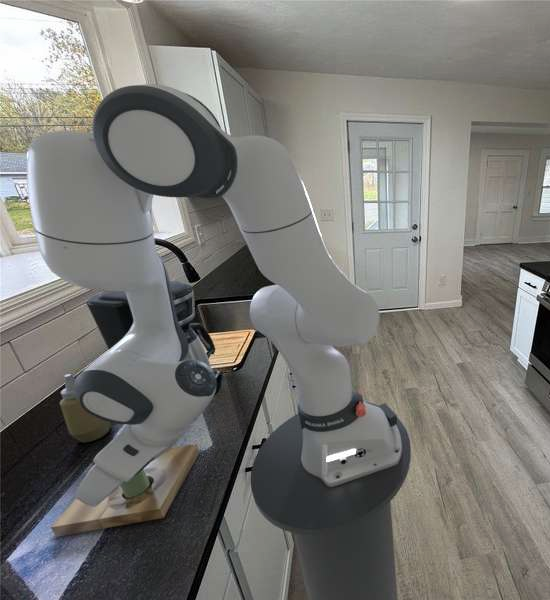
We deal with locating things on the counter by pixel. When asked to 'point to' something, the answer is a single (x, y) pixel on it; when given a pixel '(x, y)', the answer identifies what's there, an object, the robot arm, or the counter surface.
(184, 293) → the coffee maker
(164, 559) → the counter surface
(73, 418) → the squeeze bottle
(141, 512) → the wooden board with hole
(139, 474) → the green cylinder
